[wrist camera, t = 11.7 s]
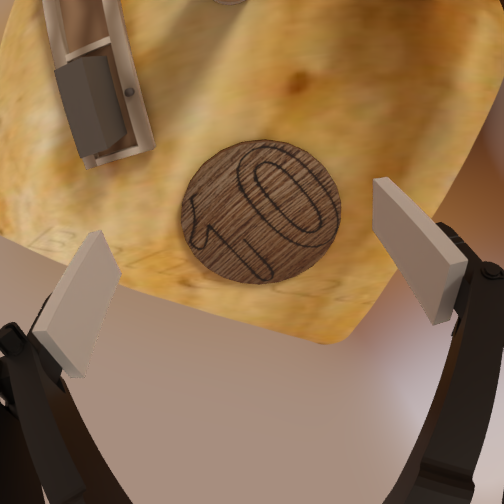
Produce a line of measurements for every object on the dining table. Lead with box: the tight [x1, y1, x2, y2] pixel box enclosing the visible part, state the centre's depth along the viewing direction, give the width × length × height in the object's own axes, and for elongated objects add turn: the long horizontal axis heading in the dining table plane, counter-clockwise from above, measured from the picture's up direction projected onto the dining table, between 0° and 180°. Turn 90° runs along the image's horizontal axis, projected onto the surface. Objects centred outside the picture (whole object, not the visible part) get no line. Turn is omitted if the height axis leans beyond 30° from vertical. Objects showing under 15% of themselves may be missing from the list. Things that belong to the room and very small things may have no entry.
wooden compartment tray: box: [42, 0, 156, 170], centre depth 32 cm, size 11×34×4 cm, turn 10°
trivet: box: [181, 139, 341, 284], centre depth 50 cm, size 25×25×2 cm
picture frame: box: [54, 56, 127, 158], centre depth 33 cm, size 4×12×8 cm, turn 10°
